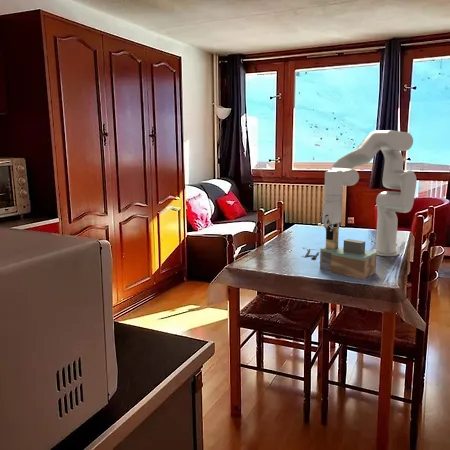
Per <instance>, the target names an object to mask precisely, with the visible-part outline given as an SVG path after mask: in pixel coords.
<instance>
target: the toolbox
mask: <svg viewBox="0 0 450 450" xmlns="http://www.w3.org/2000/svg"><path fill="white" fill-rule="evenodd" d="M319 252H320V253H319V269H323V270H327V271H330V273H332V274H337V275H341V276H345V277H351V278H355V279H361V280H365V279H367V278H368V277H370V276H373V275H374V274H376V272H377V271H376V269H377V255H375V256H373V257H371V258H369V259H367V260H365V261H362V260H357V259H352V258H346V257H341V256H336V255H331V253H328V252H323V251H320V250H319Z"/></svg>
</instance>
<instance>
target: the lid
mask: <svg viewBox="0 0 450 450" xmlns="http://www.w3.org/2000/svg"><path fill="white" fill-rule="evenodd" d="M320 251H323V252H328V253H331V255H336V256H341V257H346V258H352V259H357V260H362V261H365V260H367V259H369V258H371V257H373V256H375V255H376V256H378V255H377V252H373V250H366V241H363V240H360V239H359V240H357V239H351V238H346V239H344V240H343V247H339V246H338V249H335V250H330V249H326V246H323V247H321V248H320V249H319V252H320Z"/></svg>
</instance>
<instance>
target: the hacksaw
mask: <svg viewBox="0 0 450 450" xmlns="http://www.w3.org/2000/svg"><path fill="white" fill-rule="evenodd" d="M302 249H304V250H307V251H306V254H305V255H302V256H301V257H302V258H308V257H310V258H311V260H317V257H318V256H319V255H320V251H319V252H316V254H315V255H314V254H310V253H311V251H314V250H315V251H316V250H317V249H314V248H313V249H310V248H308V249H307V248H306V247H302Z"/></svg>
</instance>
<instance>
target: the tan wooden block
mask: <svg viewBox="0 0 450 450" xmlns="http://www.w3.org/2000/svg"><path fill="white" fill-rule="evenodd" d="M332 231H333V240H328V239H326V238H325V247H326V249H330V250H335V249H338V247H339V231H340V227H339V228H336V227H333V230H332Z"/></svg>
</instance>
